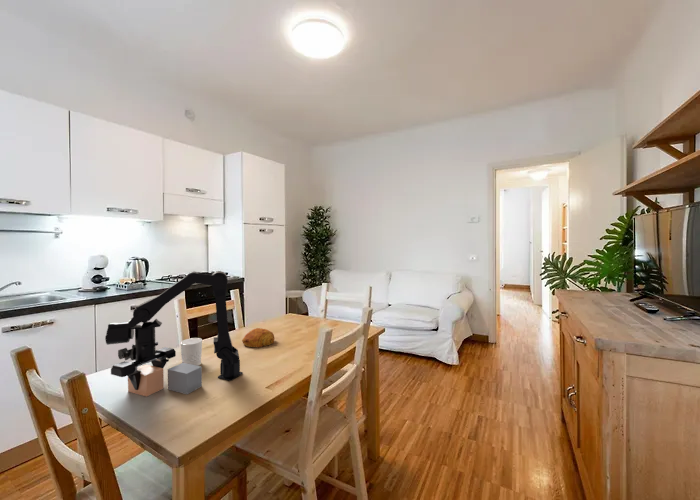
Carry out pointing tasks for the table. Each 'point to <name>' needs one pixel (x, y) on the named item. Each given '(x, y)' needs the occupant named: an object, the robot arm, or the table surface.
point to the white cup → (191, 351)
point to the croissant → (258, 338)
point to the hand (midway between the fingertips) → (146, 385)
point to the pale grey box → (184, 378)
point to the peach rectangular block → (148, 380)
